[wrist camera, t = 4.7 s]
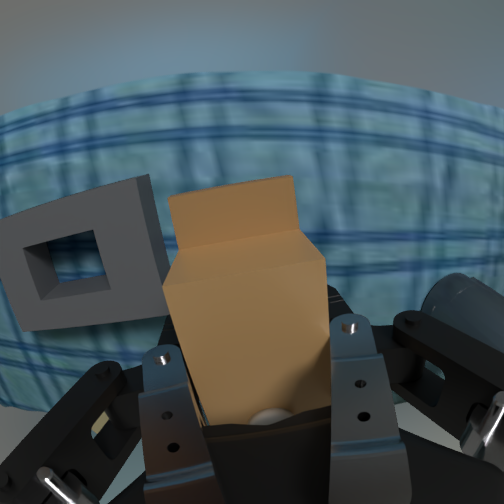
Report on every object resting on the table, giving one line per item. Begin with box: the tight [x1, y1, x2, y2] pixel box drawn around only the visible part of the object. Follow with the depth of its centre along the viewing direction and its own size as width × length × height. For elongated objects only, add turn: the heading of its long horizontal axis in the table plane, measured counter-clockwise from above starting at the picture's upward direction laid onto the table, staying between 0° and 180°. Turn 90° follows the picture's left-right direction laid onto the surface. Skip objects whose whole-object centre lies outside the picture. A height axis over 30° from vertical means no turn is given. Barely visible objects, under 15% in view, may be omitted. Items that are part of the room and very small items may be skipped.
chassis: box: [0, 174, 170, 332], centre depth 26 cm, size 18×12×4 cm, turn 99°
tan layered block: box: [92, 412, 109, 434], centre depth 32 cm, size 10×9×6 cm
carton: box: [162, 175, 331, 426], centre depth 12 cm, size 10×4×8 cm, turn 9°
